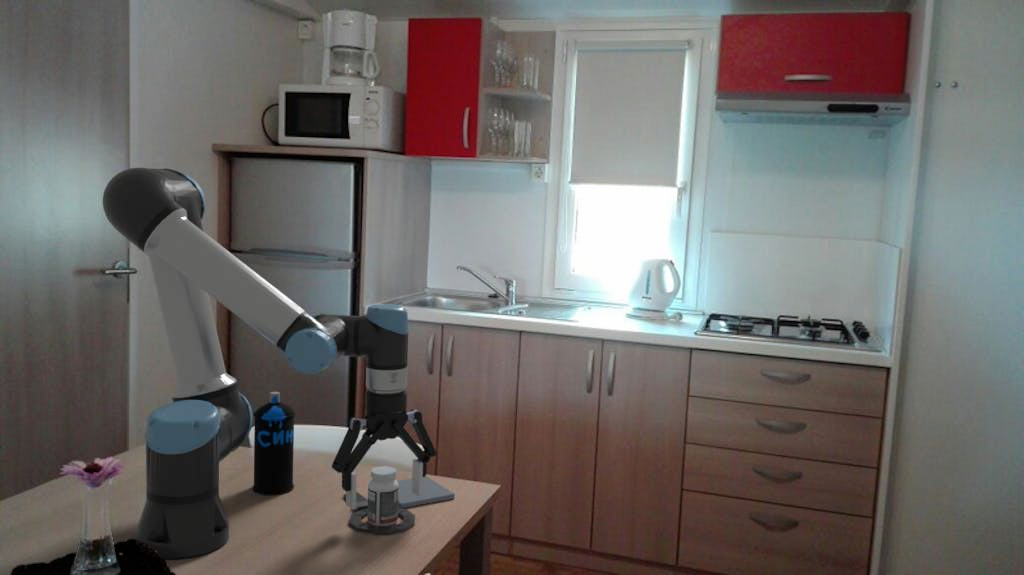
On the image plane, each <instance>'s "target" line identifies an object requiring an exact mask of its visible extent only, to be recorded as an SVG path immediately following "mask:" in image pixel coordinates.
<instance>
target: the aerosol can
mask: <svg viewBox="0 0 1024 575" xmlns="http://www.w3.org/2000/svg"><path fill="white" fill-rule="evenodd" d="M280 398H281V393H280V392H279V391H271V392H269V402H266V403H264V404H262V405H260V406H259V407H258V408H257V409H256V410H255V411H254V412H252V413H253V418H254V433H253V434H254V436H253V437H254V438H253V440H254V442H253V444H254V445H253V446H254V447H253V449H254V450H253V451H254V452H253V456H254V457H253V486H252V491H253V492H254V493H256V494H259V495H264V496H277V495H278V496H279V495H284V494H287V493H289V492H291V491H292V490H294V488H295V484H294V443H295V442H294V438H295V436H294V434H295V433H294V432H295V431H294V430H295V416H296V411H295V410H293V408H292V407H291V406H290V405H288V404H286V403H283V402H281V400H280Z"/></svg>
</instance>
